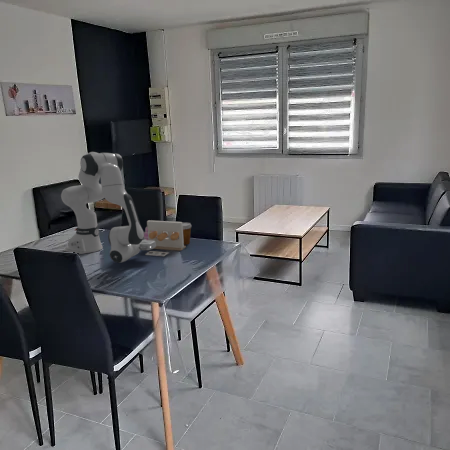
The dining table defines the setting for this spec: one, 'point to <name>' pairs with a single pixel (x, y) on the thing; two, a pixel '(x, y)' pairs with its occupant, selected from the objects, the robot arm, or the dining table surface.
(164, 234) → the button middle
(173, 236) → the button right
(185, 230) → the disposable coffee cup
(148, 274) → the dining table surface
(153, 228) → the panel
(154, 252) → the card
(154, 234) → the button left
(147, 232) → the lily
